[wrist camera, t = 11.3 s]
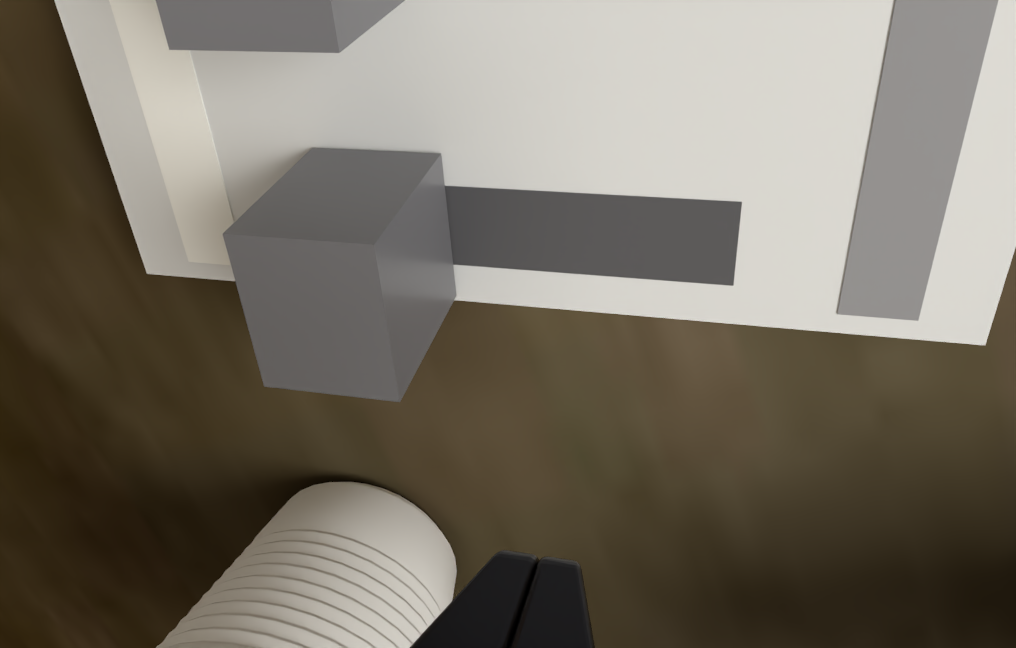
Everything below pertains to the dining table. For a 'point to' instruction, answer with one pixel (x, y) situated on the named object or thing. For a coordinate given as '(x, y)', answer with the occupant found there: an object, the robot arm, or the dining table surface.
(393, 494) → the cup
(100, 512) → the dining table surface
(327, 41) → the block
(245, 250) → the block
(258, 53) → the panel
